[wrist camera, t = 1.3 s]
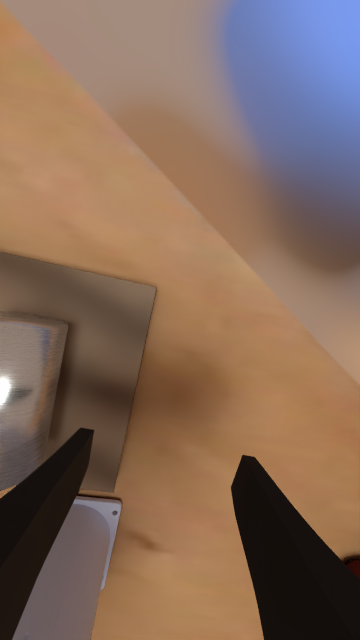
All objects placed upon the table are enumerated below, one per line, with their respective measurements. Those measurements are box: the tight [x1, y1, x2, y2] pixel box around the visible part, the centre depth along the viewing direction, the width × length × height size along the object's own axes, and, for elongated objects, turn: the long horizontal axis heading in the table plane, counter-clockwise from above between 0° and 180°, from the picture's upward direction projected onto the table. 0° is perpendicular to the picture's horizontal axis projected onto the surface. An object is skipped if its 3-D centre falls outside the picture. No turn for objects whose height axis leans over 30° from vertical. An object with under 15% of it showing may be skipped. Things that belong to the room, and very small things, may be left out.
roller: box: [0, 311, 68, 491], centre depth 14 cm, size 10×5×5 cm, turn 167°
